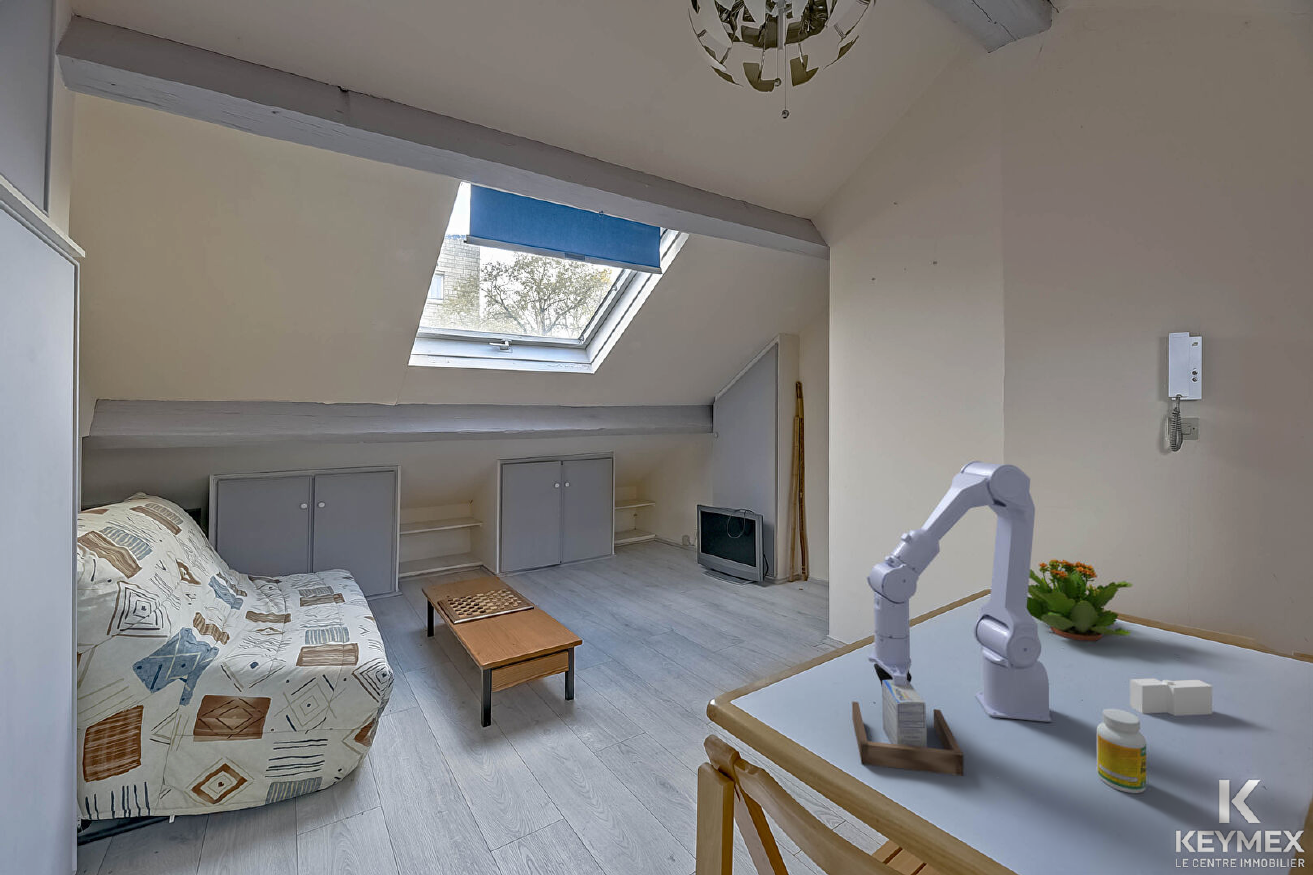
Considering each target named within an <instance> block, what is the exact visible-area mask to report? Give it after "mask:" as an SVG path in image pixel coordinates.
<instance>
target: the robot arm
mask: <svg viewBox="0 0 1313 875" xmlns="http://www.w3.org/2000/svg"><path fill="white" fill-rule="evenodd" d="M1030 484H1031V478H1030V476H1028V475H1027V473H1025V472H1024V471H1023V470H1022V469H1021V468H1019V467H1018V466H1016V465H1013V464H1009V463H1007V464H1001V463H1000V464H999V463H991V462H983V461H979V460H974V461H969V462H968V463H966V464H965V465H963V466H962V467H961V469H960V471H959V472H958V473H957V474H956V475H954V476H953V477H952V482H951V486H950V488H949V489H948V491H947V492H946V494H944V496H943V497H942V499H941V500H940V502H939V503H938V505H937V506H936V507H935V509H934V510H933V512H931V514H930V516H929V517H928V518H927V519H926V521H925V523H924V524H923V525H922V527H920V528H916V529H910V530H909V531H908V533H907V532H904V533H903V534H902V535H901V536H900V539H901V541H900V542H899V543H898V544H897V546H896V547H895V548H894V549H893V550H892V552H891V553H890V554H889V555H886V556H885V558H884V559H883V560H884V561H883V562H880V563H879V562H878V563H877V564H875V565H874V566H873V567H872V569H871V570H870V573H869V576H867V577H866V581H867V584H868V586H869V587H870V588H871V589H872V591H873V624H874V625H873V627H874V628H873V629H874V630H873V632H874V634H873V635H874V653H867V660H868V662H871V663H874V664H873V667H874V670H875V673H876V676H877V677H878V680H879V681H880V684H881V687H882V681H883V680H893V684H894V685H899V686H907V680H908V681H909V682H910V683H911V681H912V678H913V677H912V674H911V672H910V668H911V667H912V659H911V651H910V650H911V645H910V644H911V643H910V639H911V638H910V636H911V635H910V599H911V598H912V597H914V596H915V594H916V592H917V588H918V586H917V582H918V581H919V579H920V578H919V577H920V576H921V575H922V574H923V572H924V571H925V570H926V568H927V567H928V566H929V565H930V564H931V563H932V562H933V561H934V559H935V558H936V557H937V555H938V554H939V553H940V550H941V548H940V540H942V538H943V537H944V536H945V535H946V534H947V533H948V532H949V531H950V530H951V529H952V528H953V527H954V525H955V524H957V523H958V522H959V520H960V519H961V518H962V517H964V515H965V514H967V512H968V511H969V510H970V509H973V508H979V507H986V506H987V507H989V509H990V510H992V512H994V513H995V514H996V515H997V518H996V530H995V541H994V553H993V554H994V555H993V563H992V575H991V586H990V598H989V599H990V600H989V601H988V602H986V603H984V604H982V605H981V606H980V609H979V615H978V618H977V620H976V621H975V623H974V626H973V635H974V638H975V640H976V641H977V643H978V644H980V651H981V652H982V692H975V697H976V698H977V700H978V701H979V703H980V704H981V706H982V707H983V709H984V710H985V712H986V714H987V715H988V716H989V717H992V718H995V717H996V718H1003V719H1005V718H1006V719H1016V720H1025V721H1037V722H1048V723H1050V722H1052V719H1051V717H1050V684H1049V677H1048V672H1047V669H1046V667H1045V666H1044V664H1043V663H1042V661H1040V660H1038V659H1039V658H1040V656H1041V653H1042V644H1041V639H1040V638H1039V635H1038V632H1039V631H1038V628H1039V626H1038V623H1037V621H1036V619H1035V618H1034V617H1033V616H1032V615H1031V614H1030V613H1029V611H1028V610H1027V597H1029V593H1028V586H1029V585H1030V584H1029V583H1030V578H1029V574H1030V569H1031V560H1032V551H1033V550H1032V549H1033V539H1034V537H1033V536H1034V528H1035V516H1036V507H1035V504H1034V503H1035V502H1034V500H1033V498H1032V495H1031V493H1030V487H1031V485H1030Z"/></svg>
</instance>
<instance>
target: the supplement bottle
mask: <svg viewBox="0 0 1313 875" xmlns="http://www.w3.org/2000/svg"><path fill="white" fill-rule="evenodd" d="M1140 729H1141V721H1140V718H1139V717H1138V716H1137V715H1135V714H1133V713H1131V712H1128V711H1126V710H1122V709H1118V708H1106V709H1103V710H1102V722H1101V723H1099V724H1098V725H1097V727H1096V774H1097V776H1098V778H1099V779H1100V780H1101V781H1102V782H1103V783H1105V784H1106V785H1107V786H1109V787H1111V788H1112V789H1115V790H1118V791H1121V792H1124V793H1129V794H1141V793H1143V792H1145V791H1146V789H1147V741H1146V738H1145V736H1144V735H1143V733H1141V731H1140Z"/></svg>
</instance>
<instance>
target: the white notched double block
mask: <svg viewBox="0 0 1313 875" xmlns="http://www.w3.org/2000/svg"><path fill="white" fill-rule="evenodd" d="M1129 707H1130V708H1132V709H1134V710H1135V711H1137V712H1139V713H1141V714H1153V713H1155V714H1156V713H1157V714H1158V713H1159V714H1160V713H1168V714H1170V715H1172V716H1193V715H1194V716H1196V715H1198V716H1199V715H1213V686H1212V685H1211V684H1209V683H1206V682H1204V681H1202V680H1200V679H1187V680H1171V679H1163V680H1162V681H1161V680H1159V679H1157V678H1139V679H1138V678H1136V679H1135V678H1134V679H1129Z"/></svg>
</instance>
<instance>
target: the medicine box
mask: <svg viewBox="0 0 1313 875" xmlns="http://www.w3.org/2000/svg"><path fill="white" fill-rule="evenodd" d="M881 692H882V693H881V697H882V699H881V700H882V701H881V702H882V703H881V704H882V729H883V731H884V733H885V734H886V736H887V738H888V740H889V741H890V744H898V745H907V746H916V747H925V748H928V747H927V746H928V744H927V741H928V740H927V734H928V733H927V710H926V709H927V708H926V702H925V701H924V700H923V698H922V697H921V696H920V694H919V693H918V692H917V691H916V689H915V688H914V687H913V685H912V684H911V682H909V681H908V680H907V686H899V685H894V684H893V680H883V681H882V686H881Z"/></svg>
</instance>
